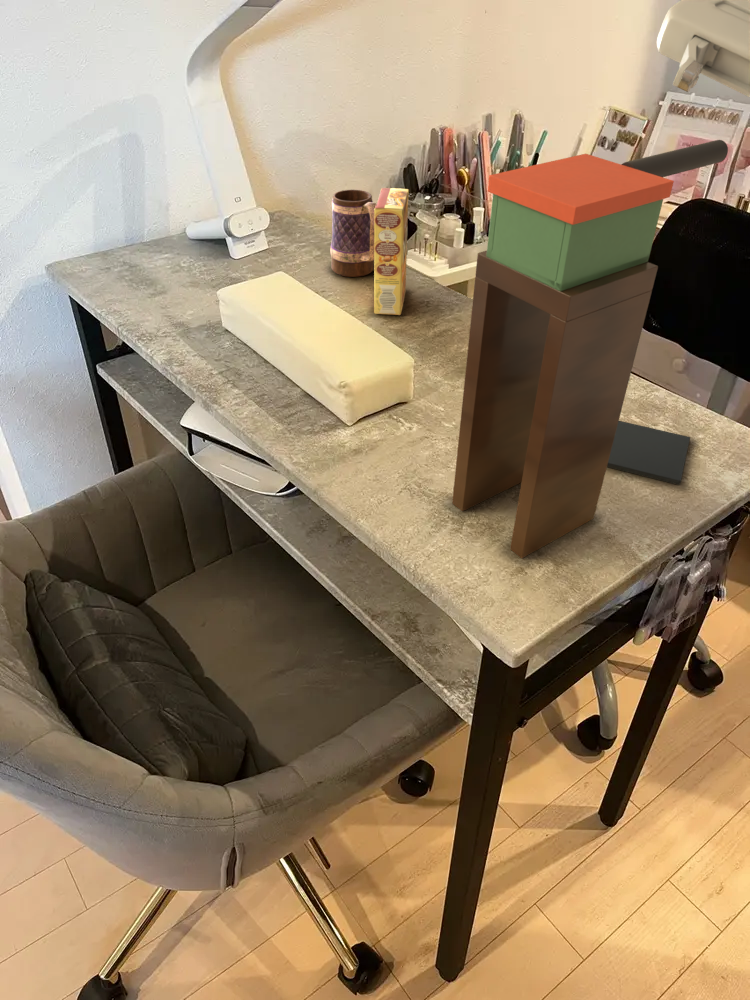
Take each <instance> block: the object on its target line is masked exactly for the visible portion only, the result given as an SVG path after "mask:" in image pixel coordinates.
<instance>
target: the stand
mask: <svg viewBox="0 0 750 1000" xmlns="http://www.w3.org/2000/svg"><path fill="white" fill-rule="evenodd" d="M486 254H487V250H484V251H480V252H477V255H476V256H477V257H476V266H475V277H474V284H473V285H474V286H473V295H472V304H471V314H470V316H471V317H470V324H469V334H468V343H467V352H466V353H467V354H466V364H465V373H464V383H463V393H462V395H463V396H462V403H461V411H460V413H461V414H460V423H459V432H458V434H459V435H458V443H457V453H456V463H455V471H454V481H453V491H452V500H451V502H452V503H451V504H452V505H453V506H455V507H456V508H458V509H459V510H460V511H461V512H465V511H466V510H468V509H470V508H473V507H474V506H476V505H479V504H481V503H483V502H484V501H486V500H489V499H491V498H493V497H495V496H497V495H499V494H501V493H503V492H505V491H507V490H509V489H511V488H513V487H515V486H517V485H519V484H520V490H519V493H518V494H519V495H518V500H517V507H516V513H515V519H514V525H513V529H512V534H511V535H512V536H511V541H510V548H509V550H510V551H512V552H513V553H514V554H515V555H517V556H518V557H519V558H521V559H524V558H525V557H527V556H529V555H531V554H533V553H535V552H536V551H538V550H540V549H542V548H544V547H545V546H547V545H549V544H551V543H552V542H554V541H556V540H557V539H559V538H561V537H563V536H565V535H567V534H569V533H570V532H573V531H574V530H576V529H578V528H580V527H581V526H583V525H584V524H586V523H589V522H590V521H592V520H593V519H594V518H595V515H596V511H597V507H598V503H599V499H600V495H601V492H602V488H603V483H604V480H605V476H606V472H607V468H608V467H607V464H608V460H609V457H610V453H611V449H612V445H613V441H614V437H615V433H616V429H617V425H618V421H620V418H621V413H622V409H623V405H624V402H625V398H626V394H627V390H628V386H629V383H630V379H631V374H632V370H633V367H634V363H635V358H636V354H637V350H638V347H639V342H640V339H641V335H642V331H643V327H644V323H645V320H646V316H647V311H648V308H649V304H650V300H651V296H652V292H653V288H654V285H655V280H656V277H657V272H658V270H659V266H658V265H656V264H654V263H652V262H649V261H648V262H645V263H642V264H639V265H636V266H633V267H631V268H628V269H625V270H622V271H619V272H616V273H613V274H610V275H607V276H604V277H601V278H598V279H595V280H592V281H589V282H586V283H584V284H581V285H578V286H575V287H572V288H569V289H566V290H563V291H559V290H556V289H554V288H552V287H550V286H548V285H546V284H544V283H542V282H539V281H537V280H535V279H533V278H531V277H529V276H527V275H524V274H522V273H520V272H518V271H516V270H514V269H512V268H510V267H507V266H505V265H503V264H501V263H499V262H497V261H495V260H492V259H490V258H488V257H486Z"/></svg>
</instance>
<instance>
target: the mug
mask: <svg viewBox="0 0 750 1000" xmlns="http://www.w3.org/2000/svg"><path fill="white" fill-rule="evenodd" d="M376 204H377V202H374V201H373V195H372V194H371V193H370V192H369V191H365V190H362V189H343V190H338V191H336V192H334V193H333V194H332V200H331V210H332V211H331V214H332V215H331V219H332V220H331V242H330V257H331V265H330V266H331V270H332V271H333V272H334V273H335V274H337V275H339V276H342V277H347V278H348V277H349V278H359V277H364V276H367V275H369V274H371V273H372V272H373V271H374V209H375V206H376Z"/></svg>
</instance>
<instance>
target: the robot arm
mask: <svg viewBox="0 0 750 1000" xmlns="http://www.w3.org/2000/svg"><path fill="white" fill-rule="evenodd" d="M656 47H657V52H658V53H659V54H661V55H662V56H664V57H666V58H668V59H670V60H672V61H675V62H676V63H679V66H678V67H679V68H678V70H677V72H676V75H675V77H674V80H673V82H672V86H673V87H675V88H678V89H679V90H682V91H684V92H686V93H689V92H690V91H691V89H693V88H694V87H696V85H697V83H698V80H699V78H700V77H699V75H700V74H701V75H703V76H705V77H707V78H709V79H711V80H712V81H715V82H717V83H719V84H721V85H723V86H726V87H728V88H730V89H731V90H734V91H736V92H737V93H740V94H741V95H744V96H746V97H748V98H750V0H679V1H677V2H675V4H673V5H672V6H671V7H670V8H668V10H667V12H666V14H665V16H664V18H663V21H662V23H661V26H660V28H659V31H658V34H657V38H656Z"/></svg>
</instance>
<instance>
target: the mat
mask: <svg viewBox="0 0 750 1000" xmlns="http://www.w3.org/2000/svg"><path fill="white" fill-rule="evenodd" d="M690 442H691V437H690V436H688V435H683V434H678V433H675V432H670V431H667V430H661V429H656V428H653V427H648V426H644V425H640V424H635V423H631V422H626V421H622V420H619V421H618V425H617V429H616V433H615V437H614V441H613V445H612V449H611V453H610V457H609V460H608V464H607V468H609V469H614V470H618V471H621V472H625V473H629V474H633V475H637V476H642V477H646V478H649V479H654V480H656V481H657V480H658V481H662V482H665V483H669V484H674V485H677V486H681V482H682V478H683V473H684V469H685V466H686V465H685V464H686V459H687V455H688V452H689V451H688V449H689V446H690Z"/></svg>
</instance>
